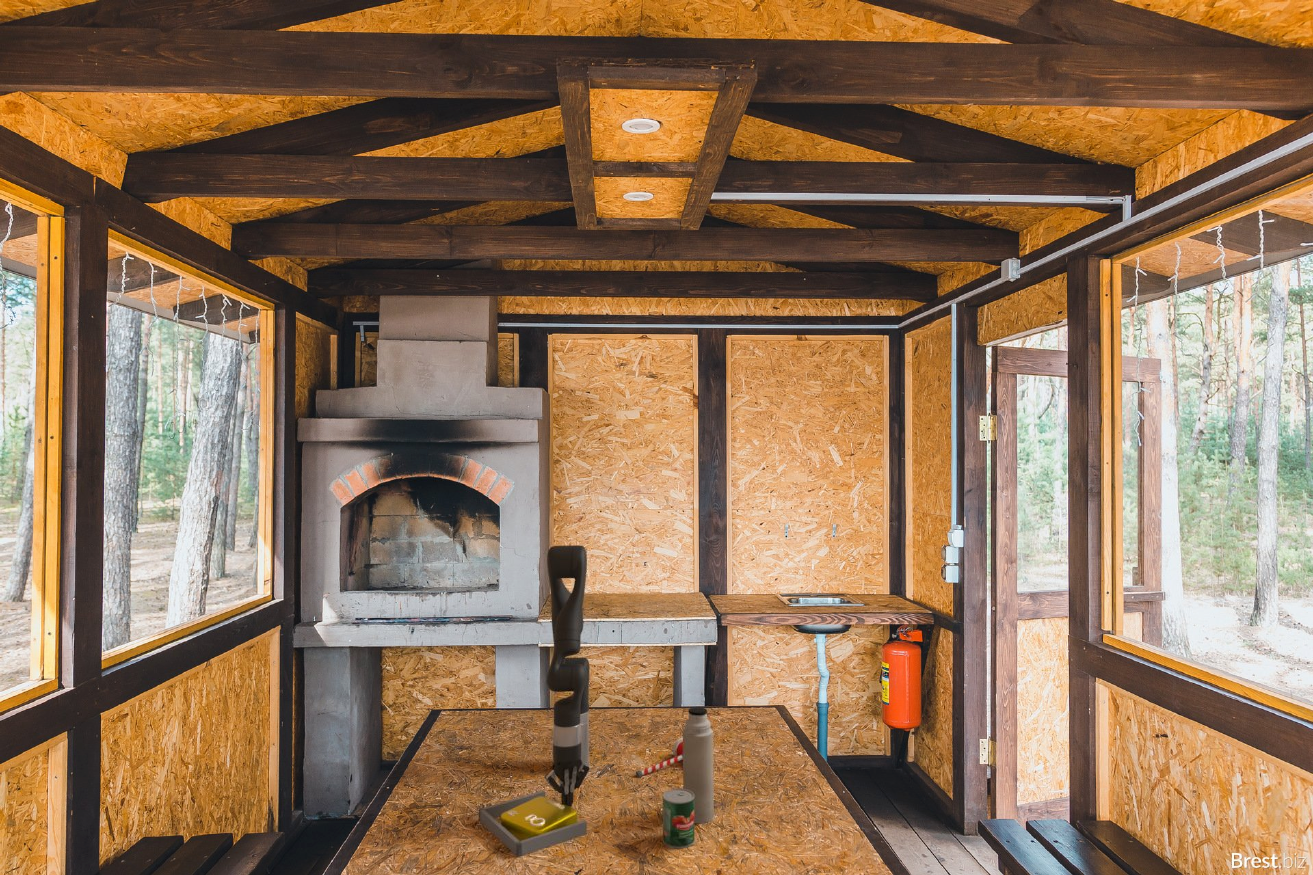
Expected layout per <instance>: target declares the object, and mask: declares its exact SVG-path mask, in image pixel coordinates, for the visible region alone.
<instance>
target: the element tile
mask: <svg viewBox="0 0 1313 875" xmlns="http://www.w3.org/2000/svg"><path fill="white" fill-rule="evenodd" d="M578 815H579V814H578V810H577V809H576V808H575V807H573V806H571V807H569V806H567V805H564V804H562V803H561V802H559V801H557V800H554V799H551V798H548V797H547V796H546V797H542V796H540V797H537V798H534V799H532V800H530V801H528V802H526V803H524V804H521V805H519V806H517V807H515V808H513V809H511V810H508V811H506V812H504V813H503V814H502V815H501V816H500V824H501V825H502V826H503V827H504V828H505V829H506V830H507V831H509V832H510V833H511V834H512V835H513V836H514V837H515V838H516V839H518V840H519V841H523V840H526V839H529V838H532V837H535V836H538V835H541V834H544V833H547V832H550V831H553V830H556V829H560V828H563V827H566V826H569V825H572V824H575V823H578V820H579V818H578Z"/></svg>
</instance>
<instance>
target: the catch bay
mask: <svg viewBox="0 0 1313 875" xmlns="http://www.w3.org/2000/svg"><path fill="white" fill-rule="evenodd" d="M546 794H547V793H546V791H545V790H541V791H537V792H534V793H530V794H527V795H523V796H520V797H516V798H512V799H509V800H507V801H506V800H505V801H502V802H500V803H496V804H492V805H489V806H485V807H482V808H479V809H478V822H479V823H480V824H482V825H483V826H484V827H485V829H486V830H488V831H489V832H490V833H491V834H492V835H493V836H495V838H496V839H497V840H498V841H499V842H500V843H502V844H503V845H504V846H505V847H506V848H507V849H509V851H511V852H512V853H513V854H514V855H515V856H516V857H517V858H520V857H522V856H525V855H528V854H531V853H534V852H538V851H540V850H543V849H546V848H549V847H552V846H554V845H555V846H556V845H558V844H561V843H564V842H567V841H571V840H572V839H576V838H579V837H581V836H585V835H587V834H588V822H587V820H582V821H579V822H578V823H575V824H572V825H569V826H566V827H563V828H560V829H556V830H553V831H550V832H547V833H544V834H541V835H538V836H535V837H532V838H529V839H526V840H523V841H519V840H518V839H516V838H515V837H514V836H513V835H512V834H511V833H510V832H509V831H507V830H506V829H505V828H504V827H503V826H502V825H501V822H498V820H496V818H499V817H500V818H501V815H502V814H503V813H504V812H506V811H508V810H511V809H513V808H515V807H517V806H519V805H521V804H524V803H526V802H528V801H530V800H532V799H534V798H537V797H540V796H542V797H546V798H547V796H546Z"/></svg>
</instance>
